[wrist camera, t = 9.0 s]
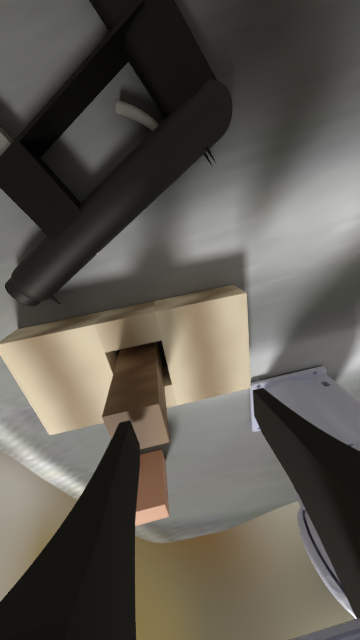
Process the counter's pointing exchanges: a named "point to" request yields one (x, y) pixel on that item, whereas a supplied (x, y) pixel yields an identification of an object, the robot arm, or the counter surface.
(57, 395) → the socket block
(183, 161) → the door handle
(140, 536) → the counter surface
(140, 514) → the salmon brown flat block
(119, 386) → the walnut peg
